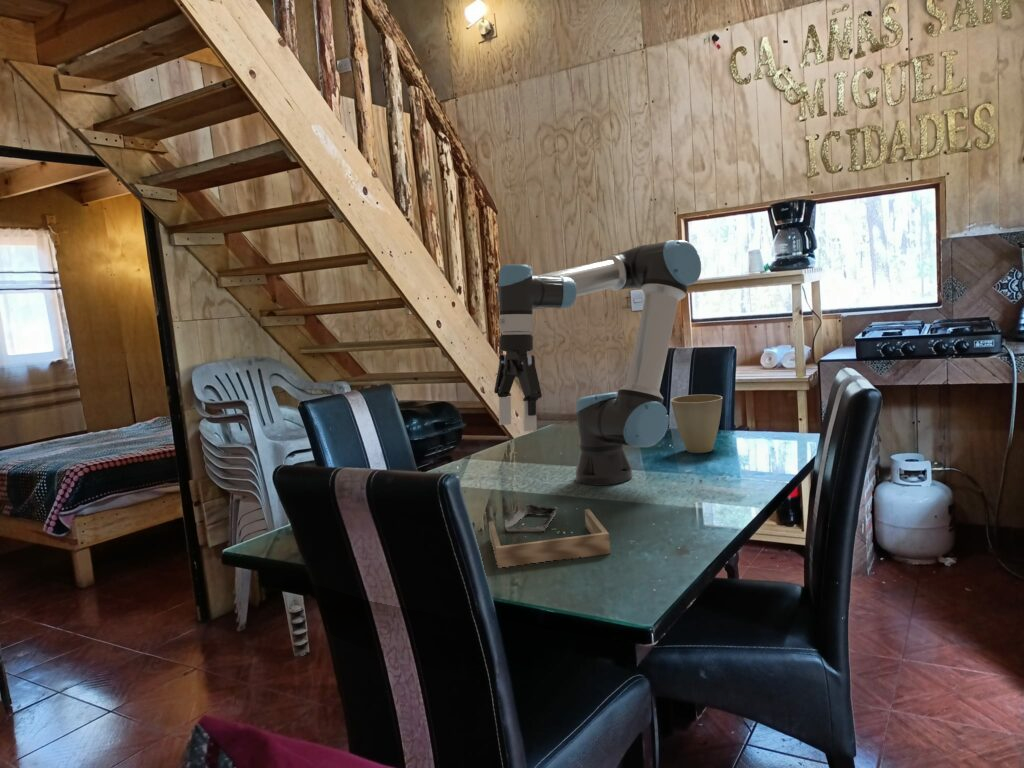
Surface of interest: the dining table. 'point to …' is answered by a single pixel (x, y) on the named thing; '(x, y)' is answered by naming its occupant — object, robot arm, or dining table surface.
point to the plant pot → (698, 420)
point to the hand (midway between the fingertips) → (517, 427)
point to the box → (553, 546)
